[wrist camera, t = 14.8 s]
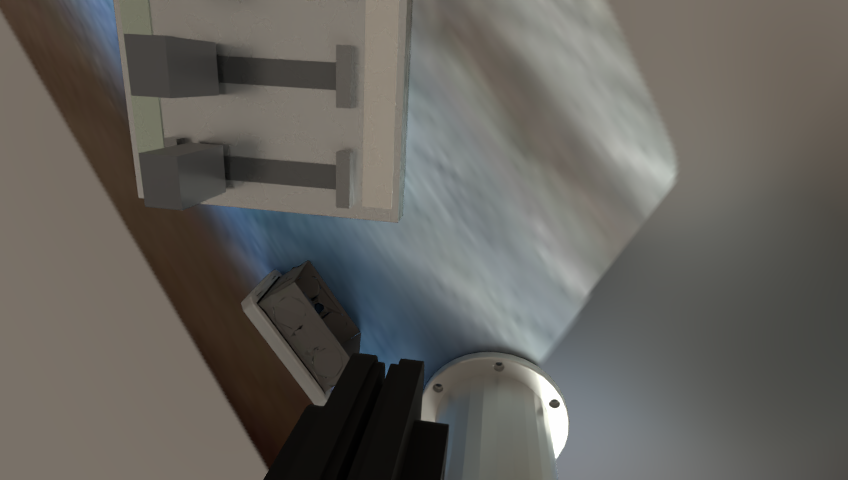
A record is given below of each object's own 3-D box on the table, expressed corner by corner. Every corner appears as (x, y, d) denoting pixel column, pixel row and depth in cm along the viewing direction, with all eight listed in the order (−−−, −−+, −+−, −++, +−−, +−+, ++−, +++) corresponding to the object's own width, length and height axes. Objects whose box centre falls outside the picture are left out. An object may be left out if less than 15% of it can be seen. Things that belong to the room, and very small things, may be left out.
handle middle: (219, 95, 35) (170, 98, 30) (185, 93, 35) (131, 95, 30) (215, 42, 34) (164, 35, 29) (180, 40, 34) (123, 33, 29)
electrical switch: (268, 271, 42) (217, 316, 33) (317, 240, 41) (279, 278, 32) (332, 358, 44) (300, 423, 35) (381, 330, 43) (361, 389, 34)
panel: (402, 215, 39) (395, 226, 36) (155, 192, 41) (129, 200, 38) (415, -82, 32) (407, -97, 29) (122, -88, 35) (89, -103, 32)
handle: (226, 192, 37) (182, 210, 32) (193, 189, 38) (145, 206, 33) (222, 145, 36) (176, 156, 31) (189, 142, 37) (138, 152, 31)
